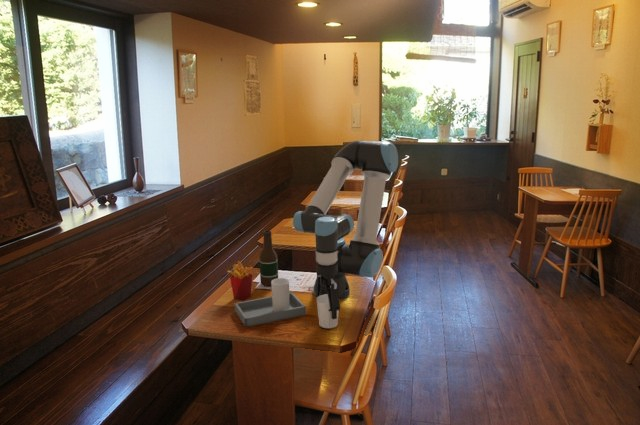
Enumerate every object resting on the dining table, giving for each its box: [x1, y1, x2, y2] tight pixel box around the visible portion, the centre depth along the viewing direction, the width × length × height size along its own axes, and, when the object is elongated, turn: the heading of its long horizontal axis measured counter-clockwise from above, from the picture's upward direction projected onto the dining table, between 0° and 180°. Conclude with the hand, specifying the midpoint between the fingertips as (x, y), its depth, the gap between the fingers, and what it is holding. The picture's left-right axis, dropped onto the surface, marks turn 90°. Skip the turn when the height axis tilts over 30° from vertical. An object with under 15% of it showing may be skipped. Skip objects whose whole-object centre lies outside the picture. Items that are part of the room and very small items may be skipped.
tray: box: [234, 292, 307, 328], centre depth 199 cm, size 24×15×4 cm, turn 114°
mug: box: [270, 277, 290, 312], centre depth 200 cm, size 10×7×12 cm, turn 158°
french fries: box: [227, 261, 253, 302], centre depth 212 cm, size 9×8×15 cm
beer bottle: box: [259, 229, 279, 288], centre depth 225 cm, size 8×8×24 cm
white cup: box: [316, 294, 340, 329], centre depth 187 cm, size 8×8×10 cm
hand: (328, 321), depth 188 cm, fingers closed on white cup, 8 cm apart
